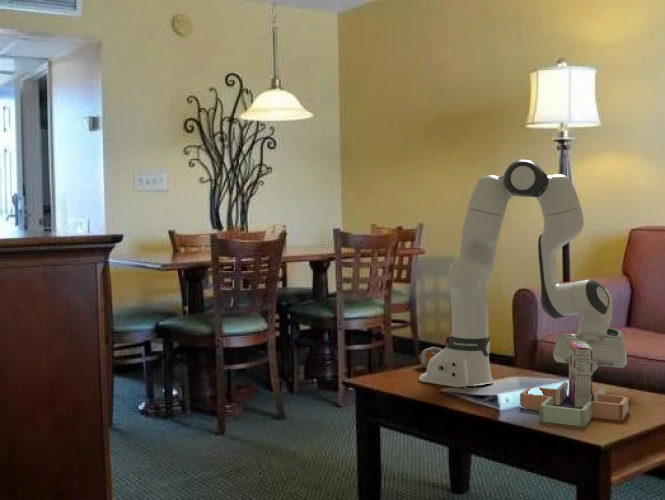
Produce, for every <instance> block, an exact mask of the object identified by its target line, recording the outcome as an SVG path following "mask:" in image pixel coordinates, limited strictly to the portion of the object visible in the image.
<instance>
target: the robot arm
mask: <svg viewBox="0 0 665 500" xmlns="http://www.w3.org/2000/svg"><path fill="white" fill-rule="evenodd" d="M513 197H520V198H521V197H522V198H526V197H527V198H530V197H531V198H535V199H536V200H537V201H538V203H539V206H540V208H541V213H542V217H543V224H544V225H543V230H542V233H541V234H540V235H539V236H538V244H537V252H538V264H539V275H540V276H539V277H540V305H541V306H540V307H541V308H542V310H543V312H544V313H545V314H546V315H548V316H549V317H550V318H553V319H555V320H558V319H561V318H566V317H568V316H575V315H580V317H581V320H580V321H579V325H578V329H577V334H567V333H562V334H560V335H558V336H556V337H555V346H554V348H553V353H552V354H553V359H554V360H555V362H556V363H564V364H569V341H586V342H587V343H588V344H589V345H590V347H591V348H592V375H593V373H594V372H595V371H597V369H598V368H599V367H608V368H609V367H610V368H620V369H623V368H625V367H626V366H627V358H628V356H627V347H626V344H625V337H624V334H623V332H622V331H621V330H618V329H615V328H612V327H610V324H611V322H612V319H613V310H614V307H613V306H614V303H613V296H612V294H611V292H610V291H609V290H608V289H606V288H604V287H603V286H602V285H601V284H600V283H599V282H598V281H596V280H594V279H583V280H578V281H574V282H566V283H560V282H559V280H558V270H557V269H558V268H557V254H558V252H559V251H560V250H561V248H563V247H564V246H565V245H567V244H568V243H570V242H571V241H573V240H575V238H578V237H577V236H579V235H580V233H581V232H582V230H583V228H584V224H585V222H584V214H583V213H584V212H583V210H582V207H581V202H580V199H579V197H578V194H577V191H576V188H575V187H574V184H573V183H572V180H571V178H569V176H567V175H564V174H561V173H560V174H558V173H557V174H551V175H550V174H549V175H547V173H546V172H545V171H544V170H543V169H542V168H541V167H540V166H539V164H537V163H536V162H535V161H533V160H531V159H527V158H526V159H525V158H522V159H517V160H514V161H513V162H512V163H510V165H509V166H508V167H507V168H506V170H505V172H504V173H502V175H494V174H488V175H483V176H481V177H480V178H479V179H478V180H477V182H476V185H475V186H474V189H473V192H472V194H471V196H470V199H469V202H468V206H467V210H466V215H465V219H464V223H463V227H462V230H461V243H460V251H459V255H458V258H456V259H455V260H454V261H453V262H451V264H450V266H449V267H448V271H447V280H448V288H449V298H450V305H451V334H449V335H448V336H447V337H445V339H444V341H443V343H445V347H444V348H442V349H443V350H441V351H440V352H439V353H437V354H436V355H435V356H433V357H432V358H431V359H430V360H429V362H428V366H427V368H426V370H425V372H424V373H421V374H420V375H419V378H418V379H419V381H420V382H421V383H422V382H423V383H430V384H435V385H442V386H447V387H448V386H449V387H452V388H459V387H464V386H469V385H474V384H480V383H486V382H492V381H493V382H494V379H493V377H492V376H493V375H492V372H491V364H490V358H489V357H490V356H489V355H490V353H491V352H490V351H491V341H490V336H489V308H488V301H487V300H488V299H487V291H486V290H487V289H486V288H487V287H486V286H487V285H488V284H489V283H490V282H491V281H490V280H491V279H492V275H493V270H494V266H495V261H496V254H497V247H498V240H499V239H500V238H499V237H500V234H501V230H502V227H503V226H502V225H503V222H504V217H505V213H506V210H507V206H508V203H509V202H510V200H511V198H513ZM464 388H465V387H464Z"/></svg>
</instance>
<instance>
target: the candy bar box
mask: <svg viewBox="0 0 665 500" xmlns="http://www.w3.org/2000/svg"><path fill="white" fill-rule="evenodd" d="M568 398H569V400H570V402H571V404H572V406H573V407H574V409H582V408H583V407H584V406H585V404H586V403H587V402H588V401H593V374H592V348H591V347H590V345H589V344H588V343H587V342H586V341H569V363H568Z"/></svg>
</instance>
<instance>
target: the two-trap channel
mask: <svg viewBox="0 0 665 500" xmlns="http://www.w3.org/2000/svg"><path fill="white" fill-rule="evenodd" d="M534 387H535V386H528V387H527V388H526V389H524V390H523V391H522V392H520V394H519V406H520V405H521V406H522V407H524V408H527V409H532V410H531V411H534V410H537V411H536V412H539V422H543V423H549V424H550V423H551V424H557V425H558V424H559V425H567V426H575V427H582V428H585V427H586V426H587V425H588V423H589V422H590V421H591V419H592V418H594V419H595V418H596V419H603V420H612V421H621V422H623V421H624V420H625V418H626V416H627V415H628V413H629V396H623V395H614V394H605V390H606V388H605V385H600V387H598V388H597V390H596V391H595V392H594V393H593V400H592V401H588V402H587V403H586V404H585V406H584V407H583V408H575V407H574V408H572V407H564V406H560V405H561V404H562V403H563V402H564V401H565V400H566V399H567V398H568V397H567V390H568V391H569V381H568V382H567V381H564V382H563V383H561V385H560V386H559V387H558V388H549V387H547V388H546V387H539V389H540V390H541V391H542V393H543V396H542V395H533V394H528V391H529V390H530V389H531V388H534ZM566 397H567V398H566ZM555 405H557V406H555Z"/></svg>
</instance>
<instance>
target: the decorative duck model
mask: <svg viewBox="0 0 665 500" xmlns="http://www.w3.org/2000/svg"><path fill="white" fill-rule="evenodd" d="M443 349H444V348H441V347H439V346H431V347H428V348H425V349H424V350H422V351H421V353H420V354H418V355H417V356H418V359H419V362H420V364H421V365H422V366H423V367H424V368H426V369H427V366H428V362H429V360H430V359H431V358H432V357H433V356H435V355H436V354H437V353H439V352H440V351H441V350H443Z"/></svg>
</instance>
